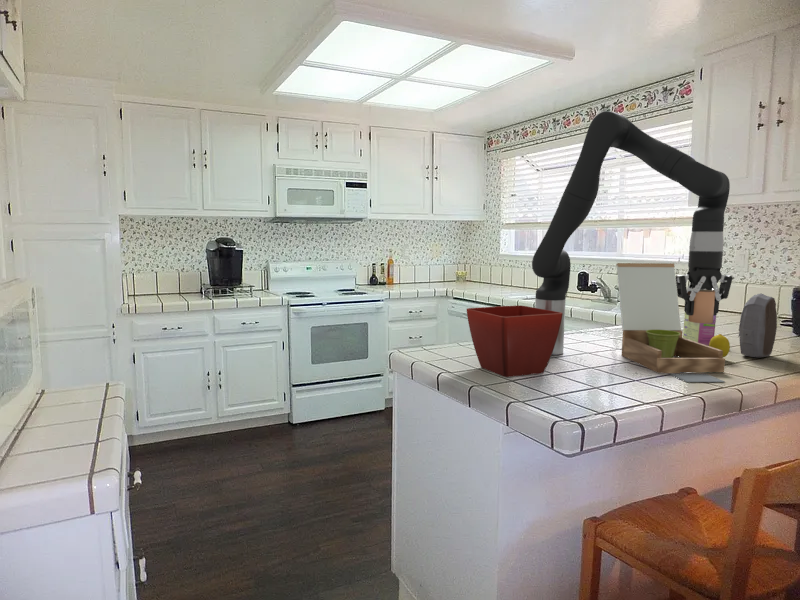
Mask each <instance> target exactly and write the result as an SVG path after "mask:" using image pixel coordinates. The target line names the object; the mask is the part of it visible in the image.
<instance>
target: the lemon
mask: <svg viewBox="0 0 800 600" xmlns="http://www.w3.org/2000/svg"><path fill="white" fill-rule="evenodd" d="M730 344H731V343H730V340H729V339H728V338H727V337H726V335H725V336H724V335H722V333H719V334H717V335H714V337H713V338H712V339H711V340H710V343H709V346H710V347H713V348H716V349H719V350H722V351H723V356H722V358H726V356H728V354H729V353H730V351H731V345H730Z"/></svg>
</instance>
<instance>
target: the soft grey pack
mask: <svg viewBox="0 0 800 600" xmlns="http://www.w3.org/2000/svg"><path fill="white" fill-rule="evenodd" d="M776 302H777V301H776V299H775V298H774V297H772V296H769V295H767V294H766V295H765V294H764V293H757V294H754V295H753V296H751V297H750V298H749V299H748V300H747V301H746V302H745V303H744V306H743V308H742V311H741V314H740V320H739V327H738V335H737V337H738V338H739V346H740V347H739V348H740V354H742V355H743V356H745V357H750V358H764V357H765V358H766V357H769V356H771V355H772V353H773V349H774V346H775V345H774V344H775V341H776V335H777V331H778V330H777V329H778V313H777V303H776Z"/></svg>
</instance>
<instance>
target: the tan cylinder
mask: <svg viewBox="0 0 800 600" xmlns="http://www.w3.org/2000/svg"><path fill="white" fill-rule="evenodd" d="M693 301H694V312H693V315H689V319H688V321H690V322H695V323H713V316H714V303H715V292H714V290H711V289H700V291H699V292H698V293H696V296H695V298H694V300H693Z"/></svg>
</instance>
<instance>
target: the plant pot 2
mask: <svg viewBox="0 0 800 600" xmlns="http://www.w3.org/2000/svg"><path fill="white" fill-rule="evenodd" d="M646 333H647V335H648V338H649V346H651V347H654V348H656V349H659V350H661V351H662V356H661V358H674V357H675V356H674V352H675V347H676V343H677V340H678V338H679V336H680V335H681V333H679V332H676V331H670V330H647V331H646Z"/></svg>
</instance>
